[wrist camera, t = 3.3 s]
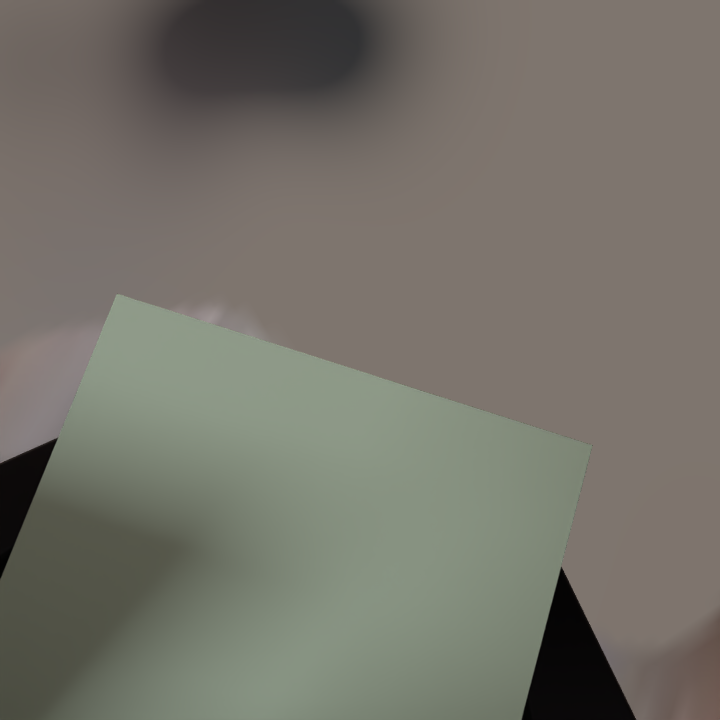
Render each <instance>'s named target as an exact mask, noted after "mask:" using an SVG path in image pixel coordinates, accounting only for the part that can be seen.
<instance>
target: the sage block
mask: <svg viewBox="0 0 720 720" xmlns="http://www.w3.org/2000/svg"><path fill="white" fill-rule="evenodd" d="M591 450H592V445H591V444H588V443H584V442H581V441H578V440H575V439H572V438H568V437H566V436H562V435H559V434H556V433H553V432H549V431H547V430H544V429H540V428H537V427H534V426H531V425H528V424H525V423H522V422H518V421H515V420H512V419H509V418H506V417H503V416H500V415H496V414H493V413H490V412H487V411H484V410H481V409H478V408H474V407H471V406H468V405H465V404H461V403H458V402H456V401H452V400H449V399H446V398H443V397H440V396H437V395H433V394H430V393H427V392H424V391H421V390H418V389H414V388H412V387H408V386H405V385H402V384H399V383H396V382H393V381H390V380H386V379H383V378H380V377H377V376H374V375H371V374H368V373H364V372H361V371H358V370H355V369H352V368H349V367H346V366H342V365H339V364H336V363H333V362H330V361H327V360H323V359H320V358H317V357H314V356H311V355H308V354H304V353H302V352H298V351H295V350H292V349H289V348H286V347H283V346H280V345H276V344H273V343H270V342H267V341H264V340H261V339H258V338H254V337H251V336H248V335H245V334H242V333H239V332H236V331H232V330H229V329H226V328H223V327H220V326H217V325H214V324H210V323H207V322H204V321H201V320H198V319H195V318H192V317H188V316H185V315H182V314H179V313H176V312H173V311H170V310H166V309H163V308H160V307H157V306H154V305H151V304H148V303H144V302H141V301H138V300H135V299H132V298H129V297H126V296H122V295H119V294H117V295H116V297H115V300H114V302H113V305H112V307H111V310H110V312H109V315H108V317H107V319H106V322H105V324H104V327H103V329H102V332H101V334H100V337H99V339H98V341H97V344H96V346H95V349H94V351H93V354H92V356H91V359H90V361H89V363H88V366H87V368H86V371H85V373H84V376H83V378H82V381H81V383H80V386H79V388H78V390H77V393H76V395H75V398H74V400H73V403H72V405H71V408H70V410H69V412H68V415H67V417H66V420H65V422H64V425H63V427H62V430H61V432H60V435H59V437H58V439H57V442H56V444H55V447H54V449H53V452H52V454H51V457H50V459H49V461H48V464H47V466H46V469H45V471H44V474H43V476H42V479H41V481H40V484H39V486H38V488H37V491H36V493H35V496H34V498H33V501H32V503H31V506H30V508H29V511H28V513H27V515H26V518H25V520H24V523H23V525H22V528H21V530H20V533H19V535H18V537H17V540H16V542H15V545H14V547H13V550H12V552H11V555H10V557H9V560H8V562H7V564H6V567H5V569H4V572H3V574H2V577H1V579H0V720H521V719H522V715H523V711H524V707H525V703H526V699H527V696H528V692H529V688H530V684H531V680H532V676H533V673H534V669H535V665H536V661H537V657H538V653H539V649H540V646H541V642H542V638H543V634H544V630H545V626H546V623H547V619H548V615H549V611H550V607H551V603H552V600H553V596H554V592H555V588H556V584H557V580H558V576H559V573H560V569H561V565H562V561H563V557H564V553H565V549H566V546H567V542H568V538H569V534H570V530H571V526H572V523H573V519H574V515H575V511H576V507H577V503H578V499H579V496H580V492H581V488H582V484H583V480H584V477H585V473H586V469H587V465H588V461H589V457H590V453H591Z"/></svg>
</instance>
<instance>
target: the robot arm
mask: <svg viewBox="0 0 720 720" xmlns="http://www.w3.org/2000/svg"><path fill="white" fill-rule="evenodd" d="M57 439H58V438H56V439H54V440H52V441H49V442H47V443H45V444H43V445H40V446H38V447H36V448H34V449H31V450H29V451H27V452H25V453H22V454H20V455H18V456H16V457H13V458H11V459H9V460H7V461H4V462H2V463H0V579H1V577H2V574H3V572H4V569H5V567H6V564H7V562H8V560H9V557H10V555H11V552H12V550H13V547H14V545H15V542H16V540H17V537H18V535H19V533H20V530H21V528H22V525H23V523H24V520H25V518H26V515H27V513H28V511H29V508H30V506H31V503H32V501H33V498H34V496H35V493H36V491H37V488H38V486H39V484H40V481H41V479H42V476H43V474H44V471H45V469H46V466H47V464H48V461H49V459H50V457H51V454H52V452H53V449H54V447H55V444H56V442H57ZM521 720H636V718H635V716H634V714H633V712H632V710H631V708H630V706H629V704H628V702H627V700H626V698H625V696H624V694H623V692H622V690H621V687H620V685H619V683H618V681H617V679H616V677H615V675H614V673H613V671H612V669H611V667H610V665H609V663H608V661H607V659H606V657H605V655H604V653H603V651H602V649H601V647H600V644H599V642H598V640H597V638H596V636H595V634H594V632H593V630H592V628H591V626H590V624H589V622H588V620H587V618H586V616H585V614H584V612H583V610H582V608H581V606H580V604H579V601H578V600H577V597H576V595H575V593H574V591H573V589H572V587H571V585H570V583H569V581H568V579H567V577H566V575H565V573H564V571H563V569H562V567H561V569H560V573H559V576H558V580H557V584H556V588H555V592H554V596H553V600H552V603H551V607H550V611H549V615H548V619H547V623H546V626H545V630H544V634H543V638H542V642H541V646H540V649H539V653H538V657H537V661H536V665H535V669H534V673H533V676H532V680H531V684H530V688H529V692H528V696H527V699H526V703H525V707H524V711H523V715H522V719H521Z"/></svg>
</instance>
